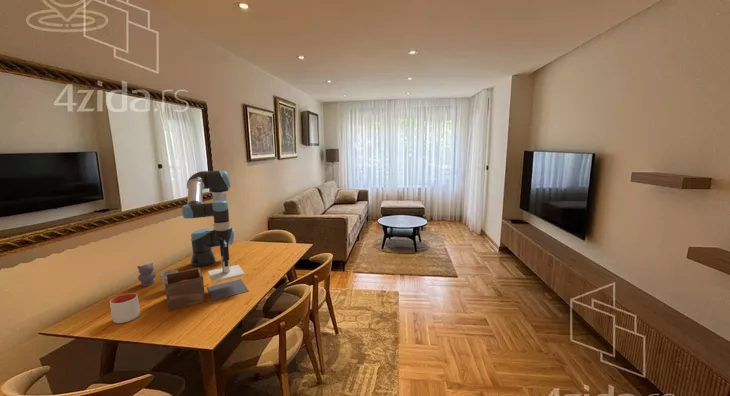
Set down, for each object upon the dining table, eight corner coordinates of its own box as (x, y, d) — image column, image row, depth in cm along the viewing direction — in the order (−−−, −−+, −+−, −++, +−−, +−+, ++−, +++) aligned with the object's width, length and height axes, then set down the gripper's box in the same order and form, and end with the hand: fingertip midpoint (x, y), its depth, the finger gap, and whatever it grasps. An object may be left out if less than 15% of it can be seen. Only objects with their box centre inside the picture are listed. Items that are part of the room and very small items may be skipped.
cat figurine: (140, 288, 168) (137, 268, 166) (137, 284, 173) (134, 265, 171) (158, 283, 174) (155, 264, 172) (155, 279, 179) (152, 261, 177)
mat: (207, 287, 167) (207, 287, 167) (240, 279, 178) (240, 279, 178) (212, 300, 152) (212, 300, 152) (248, 291, 162) (248, 290, 162)
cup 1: (123, 313, 141) (120, 293, 140) (145, 312, 142) (142, 292, 141) (107, 325, 131) (103, 304, 130) (130, 323, 132) (127, 303, 131)
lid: (208, 274, 165) (206, 255, 164) (238, 267, 174) (237, 250, 173) (212, 284, 152) (210, 264, 151) (245, 276, 161) (243, 257, 160)
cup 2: (183, 287, 168) (181, 270, 167) (169, 293, 160) (167, 276, 159) (172, 285, 171) (170, 269, 169) (159, 291, 163) (156, 274, 162)
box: (167, 298, 156) (164, 274, 154) (201, 289, 165) (199, 267, 163) (168, 311, 143) (165, 285, 141) (205, 301, 152) (203, 277, 150)
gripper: (212, 227, 164) (216, 267, 168) (217, 233, 151) (221, 277, 154) (227, 225, 168) (230, 264, 172) (232, 231, 155) (236, 273, 158)
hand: (226, 270), depth 163 cm, fingers closed on lid, 4 cm apart
